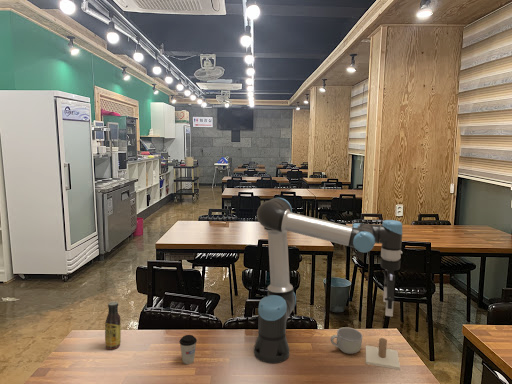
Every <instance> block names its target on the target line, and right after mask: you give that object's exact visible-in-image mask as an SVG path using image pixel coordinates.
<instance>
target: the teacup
mask: <svg viewBox="0 0 512 384" xmlns="http://www.w3.org/2000/svg"><path fill="white" fill-rule="evenodd" d="M336 333H337V334H333V335H332V336H331V337H330V343H331V344H332V345H333V346H335V347H336V348H337V349H339V350H340V351H341V352H342V353H345V354H348V355H353V354H357V353H358V352H359V351H360V350H361V347H362V343H363V333H362V332H361V331H360V330H358V329H356V328H353V327H347V326H345V327H343V326H342V327H340V328H338V329H337V331H336ZM334 339H336V342H334Z"/></svg>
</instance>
